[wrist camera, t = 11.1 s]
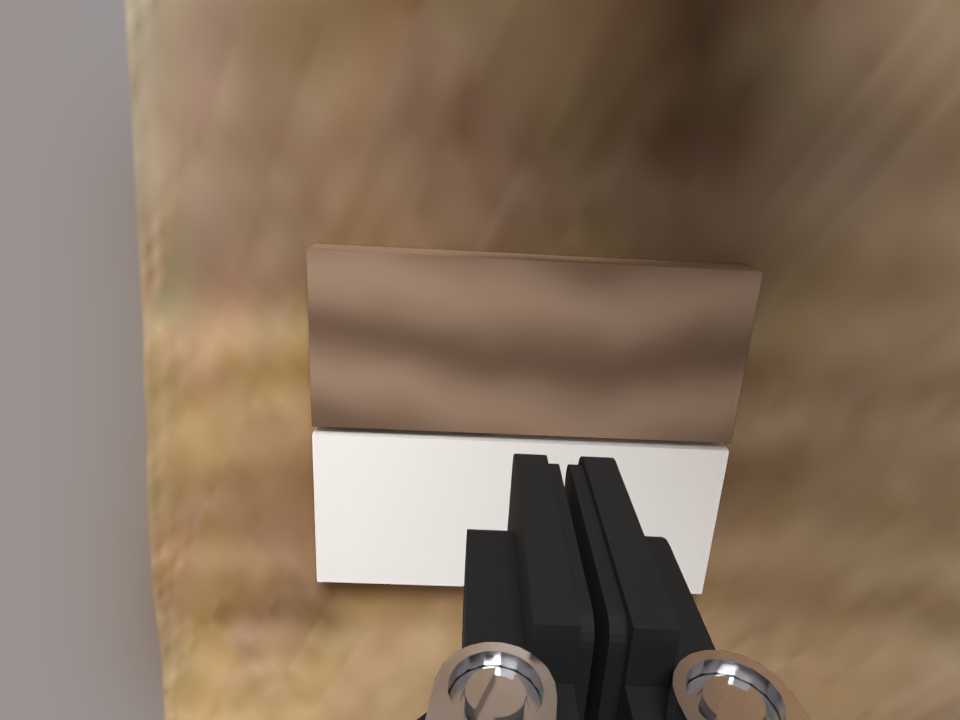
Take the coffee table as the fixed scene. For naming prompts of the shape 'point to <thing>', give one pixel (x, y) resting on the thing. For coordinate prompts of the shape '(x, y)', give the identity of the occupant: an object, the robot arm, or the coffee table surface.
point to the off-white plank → (485, 497)
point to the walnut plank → (527, 343)
